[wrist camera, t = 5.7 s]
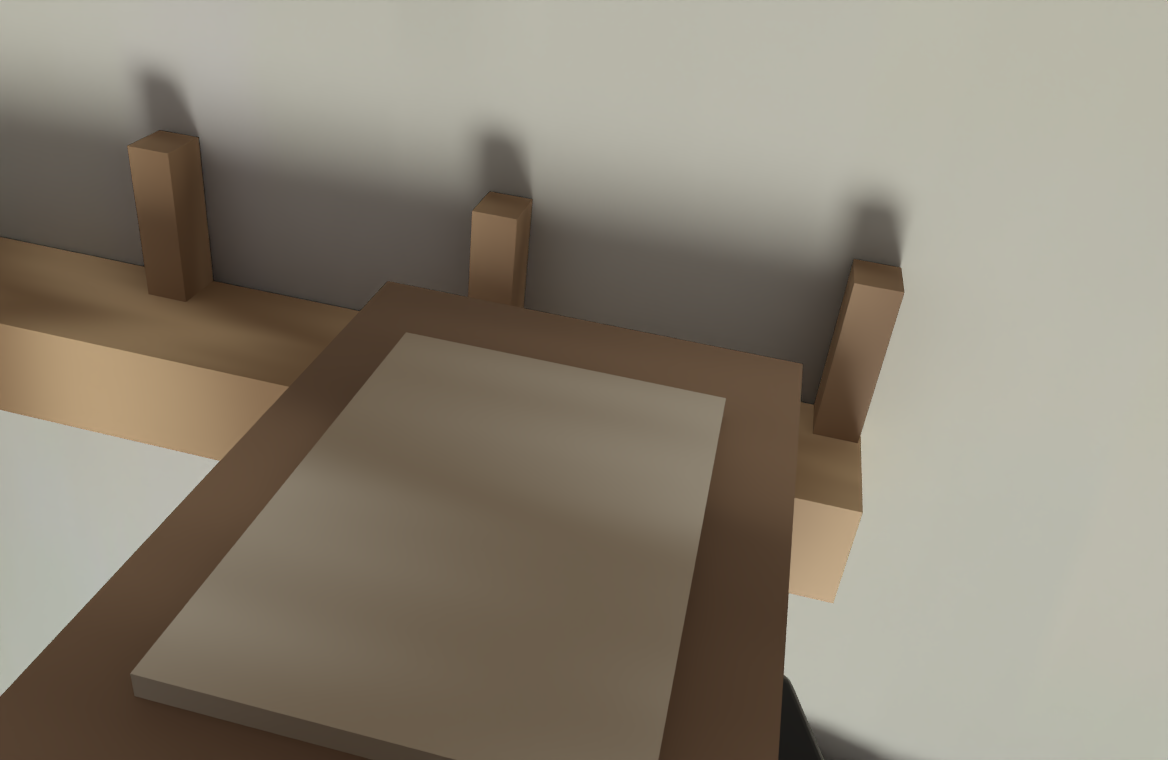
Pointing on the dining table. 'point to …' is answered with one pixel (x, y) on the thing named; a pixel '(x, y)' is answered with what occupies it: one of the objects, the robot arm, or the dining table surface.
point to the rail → (305, 328)
